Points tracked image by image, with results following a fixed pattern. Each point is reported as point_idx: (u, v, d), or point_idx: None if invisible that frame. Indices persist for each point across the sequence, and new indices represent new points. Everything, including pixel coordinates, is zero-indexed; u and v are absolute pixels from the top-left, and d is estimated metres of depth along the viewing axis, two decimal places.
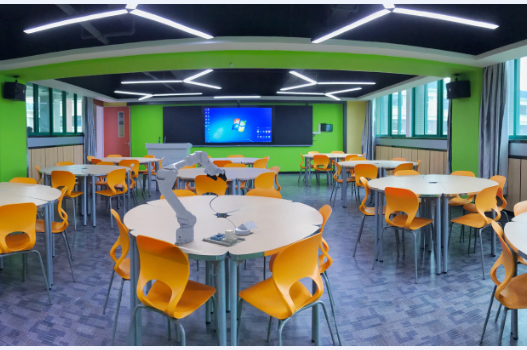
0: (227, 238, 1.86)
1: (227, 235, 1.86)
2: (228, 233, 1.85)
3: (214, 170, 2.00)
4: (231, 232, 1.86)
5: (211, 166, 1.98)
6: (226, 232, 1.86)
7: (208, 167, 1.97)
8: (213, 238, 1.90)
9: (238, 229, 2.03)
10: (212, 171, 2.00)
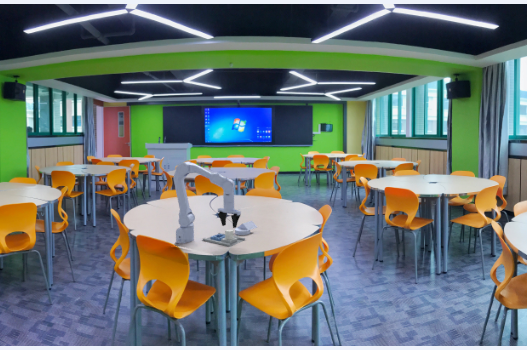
0: (227, 238, 1.86)
1: (227, 235, 1.86)
2: (228, 233, 1.85)
3: (231, 208, 1.83)
4: (231, 232, 1.86)
5: (226, 201, 1.82)
6: (226, 232, 1.86)
7: (224, 199, 1.83)
8: (213, 238, 1.90)
9: (238, 229, 2.03)
10: (229, 207, 1.83)
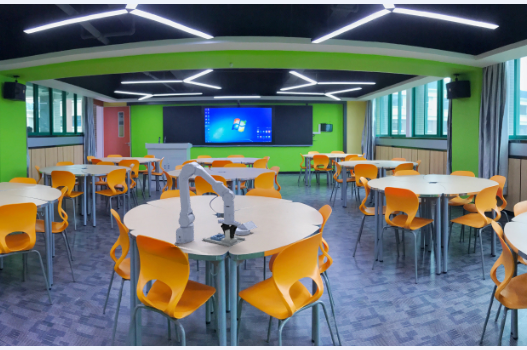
0: (227, 238, 1.86)
1: (227, 235, 1.86)
2: (228, 233, 1.85)
3: (231, 219, 1.84)
4: None
5: (226, 213, 1.83)
6: (226, 232, 1.86)
7: (224, 211, 1.84)
8: (213, 238, 1.90)
9: (238, 229, 2.03)
10: (229, 219, 1.83)
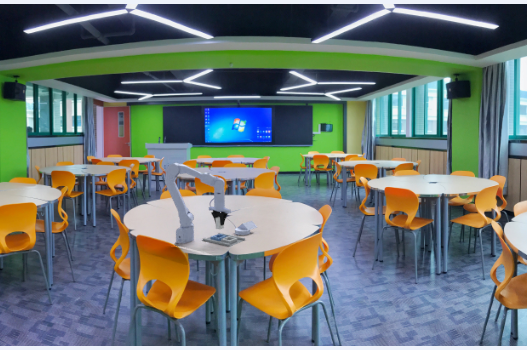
0: (217, 225, 1.89)
1: (217, 222, 1.89)
2: (218, 220, 1.88)
3: (222, 206, 1.87)
4: None
5: (217, 200, 1.86)
6: (216, 219, 1.89)
7: (215, 198, 1.87)
8: (213, 238, 1.90)
9: (238, 229, 2.03)
10: (219, 205, 1.86)
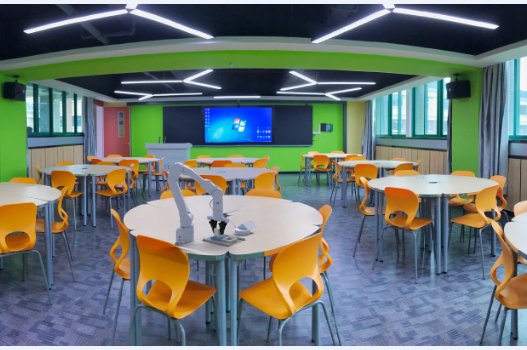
0: None
1: (216, 233, 1.91)
2: (217, 231, 1.90)
3: (220, 215, 1.88)
4: None
5: (216, 209, 1.87)
6: (215, 230, 1.91)
7: (214, 208, 1.88)
8: (213, 238, 1.90)
9: (238, 229, 2.03)
10: (218, 215, 1.88)
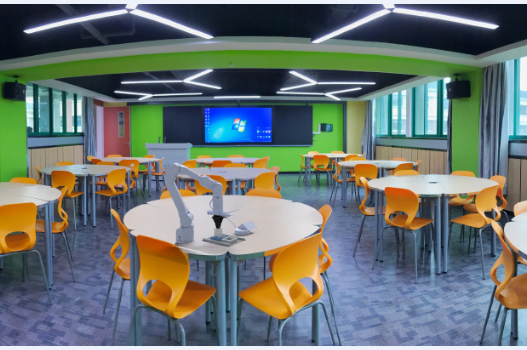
0: None
1: (216, 233, 1.91)
2: (217, 231, 1.90)
3: (220, 210, 1.88)
4: (220, 230, 1.91)
5: (216, 204, 1.87)
6: (215, 230, 1.91)
7: (213, 202, 1.88)
8: (213, 238, 1.90)
9: (238, 229, 2.03)
10: (218, 210, 1.88)
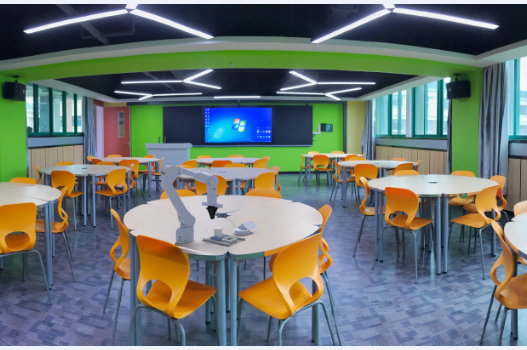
0: None
1: (216, 233, 1.91)
2: (217, 231, 1.90)
3: (214, 201, 1.95)
4: (220, 230, 1.91)
5: (213, 195, 1.95)
6: (215, 230, 1.91)
7: (210, 194, 1.94)
8: (213, 238, 1.90)
9: (238, 229, 2.03)
10: (212, 200, 1.95)
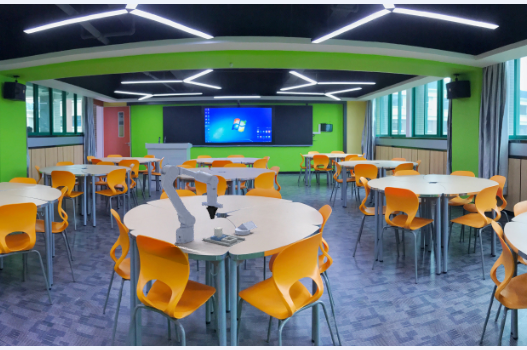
0: None
1: (216, 233, 1.91)
2: (217, 231, 1.90)
3: (214, 201, 1.95)
4: (220, 230, 1.91)
5: (213, 195, 1.95)
6: (215, 230, 1.91)
7: (210, 194, 1.94)
8: (213, 238, 1.90)
9: (238, 229, 2.03)
10: (212, 200, 1.95)
